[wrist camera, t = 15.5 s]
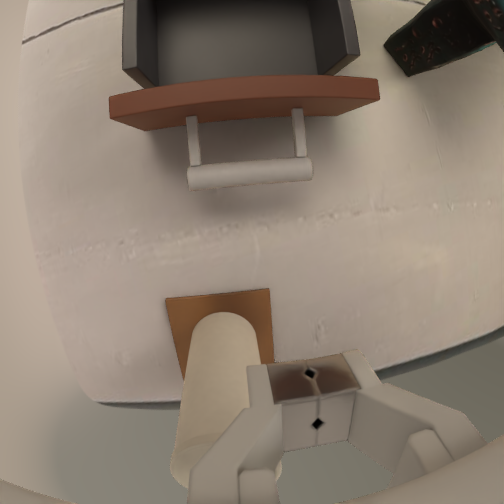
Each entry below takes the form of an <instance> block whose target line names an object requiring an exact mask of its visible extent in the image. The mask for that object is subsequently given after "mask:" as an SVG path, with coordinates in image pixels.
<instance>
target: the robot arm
mask: <svg viewBox="0 0 504 504" xmlns="http://www.w3.org/2000/svg"><path fill="white" fill-rule="evenodd" d="M246 373H247V384H248V394H249V404H250V407H249V408H244V409H243V410H242V411H241V412H240V413H239V415H238V416H237V417H236V418H235V419H234V421H233V422H232V423H231V424H230V425H229V426H228V428H227V429H226V430H225V431H224V432H223V433H222V435H221V436H220V437H219V438H218V439H217V440H216V441H215V443H214V444H213V445H212V446H211V447H210V448H209V449H208V451H207V452H206V453H205V454H204V455H203V456H202V457H201V458H200V459H199V461H198V462H197V463H196V464H195V465H194V466H193V467H192V468H191V469H190V472H189V484H188V497H187V504H280V501H279V495H278V490H277V484H276V478H275V472H274V471H275V469H276V467H277V466H278V464H279V462H280V460H281V458H282V456H283V452H289V451H295V450H300V449H305V448H310V447H315V446H321V445H326V444H332V443H337V442H342V441H347V440H348V442H349V443H350V444H352V445H353V446H354V447H356V448H357V449H359V450H360V451H361V452H363V453H364V454H365V455H367V456H368V457H370V458H371V459H373V460H374V461H375V462H377V463H378V464H380V465H381V466H383V467H384V468H386V469H387V470H389V471H390V472H391V473H393V476H392V478H391V481H390V483H389V485H388V487H387V489H385V490H382V491H379V492H376V493H372V494H369V495H366V496H362V497H358V498H355V499H351V500H347V501H343V502H339V503H335V504H504V435H502V436H500V437H499V438H497V439H495V440H494V441H492V442H491V443H487V442H486V441H485V440H484V438H483V437H482V436H481V435H480V433H479V432H478V431H477V430H476V428H475V427H474V426H473V425H472V423H471V422H470V421H469V419H468V418H467V417H466V416H465V415H464V413H463V412H460V411H457V410H455V409H452V408H449V407H447V406H444V405H441V404H438V403H436V402H434V401H431V400H428V399H426V398H423V397H421V396H418V395H416V394H413V393H411V392H409V391H406V390H404V389H401V388H399V387H396V386H394V385H392V384H389V383H385V384H382V383H381V381H380V380H379V378H378V377H377V375H376V374H375V372H374V371H373V369H372V368H371V366H370V365H369V363H368V362H367V360H366V359H365V357H364V356H363V354H362V353H361V351H360V350H358V349H356V350H351V351H347V352H342V353H340V354H335V355H330V356H324V357H318V358H312V359H306V360H296V361H287V362H278V363H269V364H260V365H250V366H247V367H246ZM0 504H76V503H71V502H68V501H64V500H60V499H57V498H53V497H50V496H47V495H43V494H40V493H37V492H34V491H31V490H28V489H25V488H22V487H20V486H17V485H14V484H12V483H9V482H6V481H4V480H2V479H0Z"/></svg>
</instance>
